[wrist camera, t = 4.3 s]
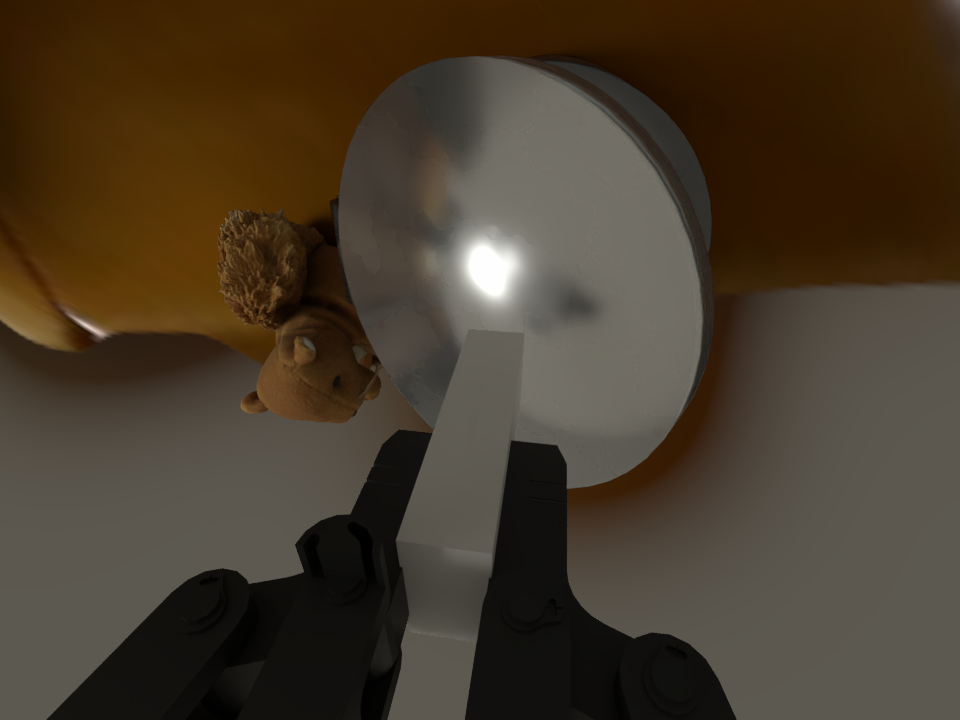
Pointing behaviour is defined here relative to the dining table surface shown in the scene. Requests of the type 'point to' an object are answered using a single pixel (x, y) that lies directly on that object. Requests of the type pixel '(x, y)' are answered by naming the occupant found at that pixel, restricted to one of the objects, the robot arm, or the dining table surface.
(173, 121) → the dining table surface
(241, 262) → the stuffed squirrel
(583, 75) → the cooker pot
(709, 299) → the lid
